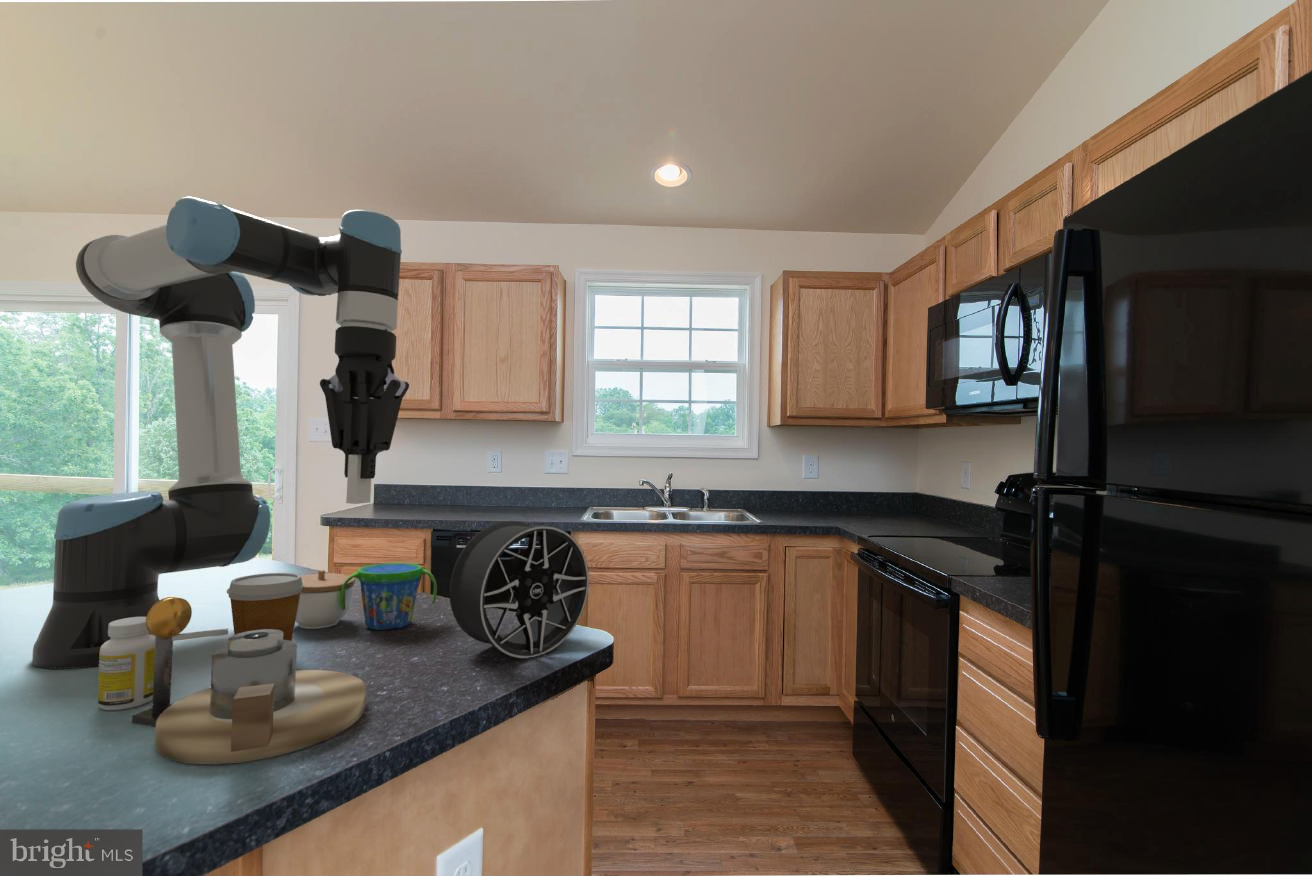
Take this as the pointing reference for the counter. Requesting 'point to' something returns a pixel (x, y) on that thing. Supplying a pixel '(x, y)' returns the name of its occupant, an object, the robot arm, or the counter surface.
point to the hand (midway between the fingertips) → (358, 502)
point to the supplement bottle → (126, 665)
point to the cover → (253, 669)
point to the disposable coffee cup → (265, 602)
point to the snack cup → (389, 593)
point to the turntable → (261, 720)
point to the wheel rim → (521, 588)
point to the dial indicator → (167, 650)
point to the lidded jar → (323, 600)
